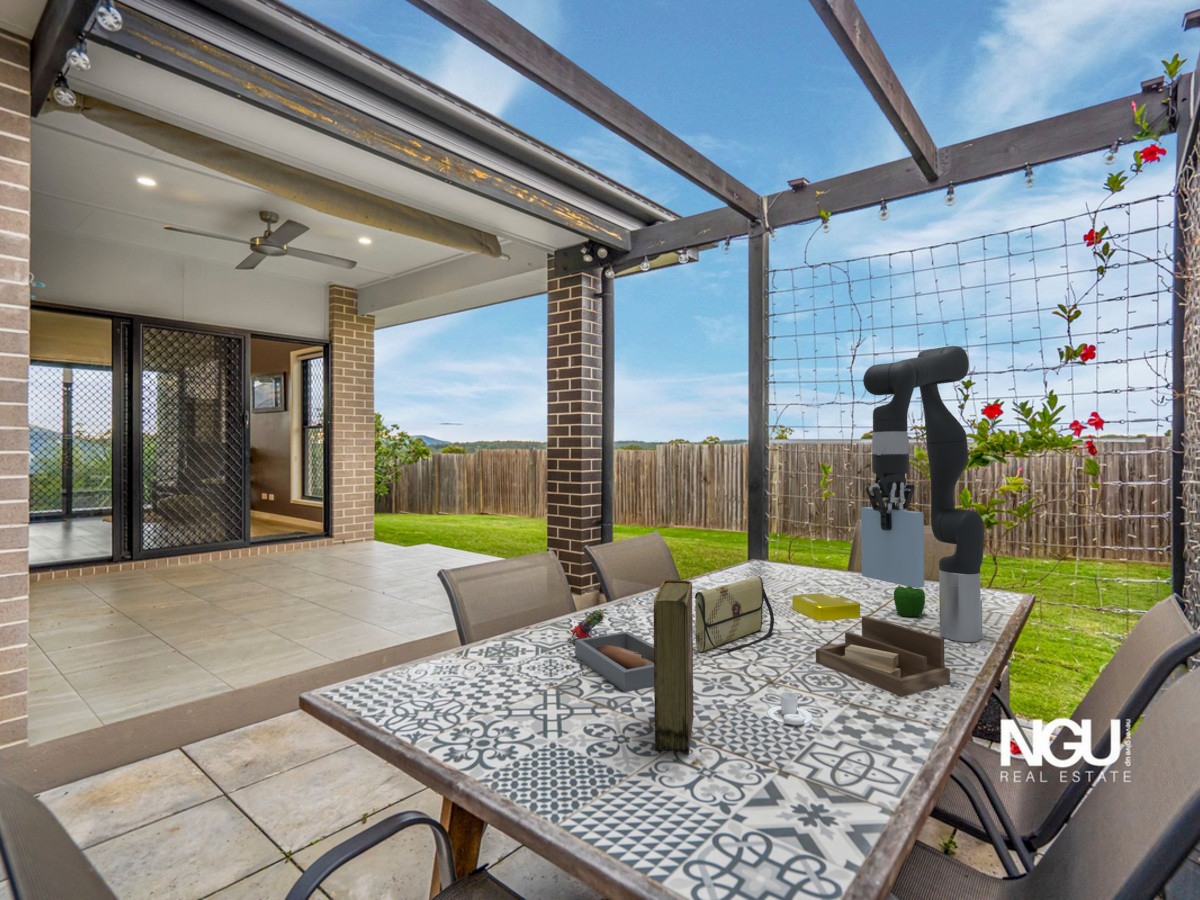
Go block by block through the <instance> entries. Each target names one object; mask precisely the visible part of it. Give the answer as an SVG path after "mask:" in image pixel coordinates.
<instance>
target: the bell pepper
mask: <svg viewBox="0 0 1200 900" xmlns="http://www.w3.org/2000/svg"><path fill="white" fill-rule="evenodd" d="M893 602H894V605H895V609H896V612H897V614H898V616H899V615H900V616H901V617H914V618H916V617H917V618H918V617H920V616H921V615H923V611H924V607H925V605H926V593H925V591H924V589H921V588H914V587H909V586H906V587H903V586H902V585H898V586H897V587H896V588H895V589H894V590H893Z"/></svg>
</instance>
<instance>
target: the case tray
mask: <svg viewBox="0 0 1200 900" xmlns="http://www.w3.org/2000/svg"><path fill="white" fill-rule="evenodd" d="M574 643H575V645H574V647H575V653H574V654H575V657H576V658H577V659H579V661H581V662H582V663H584V664H585V665H587V666H588V667H589V668H591V669H592V670H593V671H595V672H596V673H597V674H599V675H601V676H602V677H603V678H605V679H606V680H607V681H609V682H610V683H612V684H613V685H615V686H616V687H617V688H618V689H620V690H622V691H623V692H624V693H627V692H631V691H637V690H642V689H646V688H649V687H654V664H653V665H648V666H643V667H638V668H633V669H628V670H627V669H625V668H624V667H622V666H620V665H619V664H617V663H616V662H614V661H613V660H611V659H610V658H608V657H607V656H605V655H604V654H602V653H600V652H599V651H597V650H596V648H597V647H599V646H603V645H607V646H608V645H609V646H616V647H620V648H624V649H627V650H630V651H633V652H636V653H638V654H640V655H643V658H645V659H647V660H649V661H651V662H653V663H654V644H653V643H650V642H649V641H646V640H645V639H643V638H641V637H639V636H637V635H635V634H634V633H631V632H629V631H621V632H616V633H610V634H603V635H597V636H596V635H595V636H591V637H590V638H589V637H587V638H584V639H578V638H577V639H574Z"/></svg>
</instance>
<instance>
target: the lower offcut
mask: <svg viewBox="0 0 1200 900" xmlns="http://www.w3.org/2000/svg"><path fill="white" fill-rule="evenodd" d="M842 657H844V658H845V655H844V656H842ZM860 664H862V663H860ZM863 665H866V666H869V667H871V668H874V669H877V670H879V671H882V672H885V673H887V674H890V675H893V676H895V677H898V678H901V669H899V668H895V669H894V670H890V669H885V668H881V667H876V666H872V665H867V664H863Z"/></svg>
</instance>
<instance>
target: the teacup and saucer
mask: <svg viewBox="0 0 1200 900" xmlns="http://www.w3.org/2000/svg"><path fill="white" fill-rule="evenodd" d="M779 696H780V697H779V700H780V701H779V702H780V705H776V706H773V707H770V708H769V709H767V716H768V717H769V718H770V719H772V720H774V721H776V722H778V723H781V724H786V725H793V726H797V725H798V726H800V725H805V724H809V723H810V722H811V721H812V720H813V716H812V714H811V712H809V711H807V710H806V709H804V708H801V707H798V700H799V699H798V697H799V696H798V695H797V694H796V693H793V692H790V691H785V692H781V693H780V695H779ZM778 710H781V713H782V714H781V715H783V719H780V718H778V717H777V716H775V712H776V711H778ZM797 712H800V713H802V714H803V715H804V716H805V717H804V716H803V715H800V714H797Z"/></svg>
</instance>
